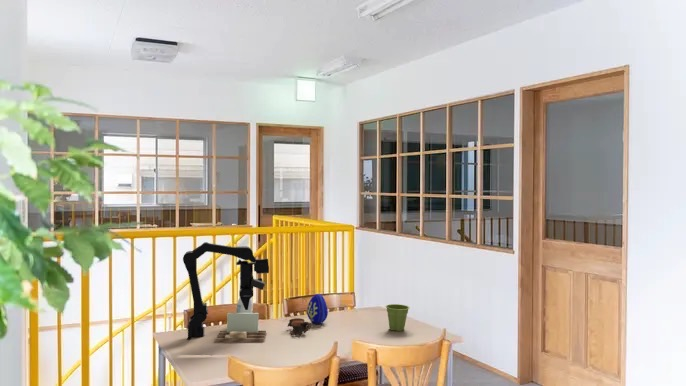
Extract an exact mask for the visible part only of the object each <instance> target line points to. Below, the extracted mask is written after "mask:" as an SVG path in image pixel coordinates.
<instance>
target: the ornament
mask: <svg viewBox="0 0 686 386" xmlns="http://www.w3.org/2000/svg"><path fill="white" fill-rule="evenodd" d="M328 311H329V309H328V306H327V302H326V300H325V298H324V296H323V295H322V294H320V293H317V294H316V293H315V294H314V295H313V296H312V297H311V298H310V300H309V302H308V304H307V309H306V315H307V318H308V319H309V321H310V322H311V323H312V324H316V325H319V324H323V323H325V321H326V320H327V318H328V314H329V312H328Z"/></svg>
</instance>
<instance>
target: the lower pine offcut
mask: <svg viewBox="0 0 686 386" xmlns="http://www.w3.org/2000/svg"><path fill="white" fill-rule="evenodd" d="M246 337H247V335H246ZM246 337H230V335H226V336H225V338H246Z"/></svg>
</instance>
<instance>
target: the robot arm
mask: <svg viewBox="0 0 686 386" xmlns="http://www.w3.org/2000/svg"><path fill="white" fill-rule="evenodd" d="M251 248H252V247H249V246H229V245H224V244H223V245H222V244H217V243H210V242H207V241H206V242H205V241H204V242H203V243H202V244H201V245H199V246H198V247H196V248H194V249H193V250H188V251H186V252H185V253H184V255H183V257H182V261H183V264H184V267H185V270H186V271H187V273H188V274H187V275H188V280H189V284H190V288H191V289H190V290H191V295H192V300H193V314H192V315H191V316H190V317H189V320H188V324H187V338H186V340H189V341H191V340H192V339H193V338H194V339H197V338H203V337H204V336H205V326H204V323H203V322H205V321H206V319H207V318H208V315H209V309H208V307H207V305H208V304H207V302H205V303H204V302H203V298H202V293H201V288H200V287H201V286H200V283H199V277H198V271H197V264H198V263H197V262H198V260H197V259H199V258H200V257H202V256H203V255H204V254H206V253H213V254H222V255H228V256H233V257H236V258H238V261H236V262H235V265H236V266H239V269H240V270H239V282H240V283H239V291H238V292H239V293H238V294H239V295H238V296H239V298H241V301H242V303H243V306H244V308H245V310H248V306H249V301H250V298H251V297H252V298H253V297H254V288H255V289H256V288H257V289H259V290H261V291H263V290H264V287H265V285H266V282H265V281H264V280H263V278H262V277H258V278H257V279H256V278H254V273H253V272H255V273H256V274H257V275H258V274H259V275H261V274H270V273H269V272H270V265H269V259H268V258H259V259H258V258H256V257H255V255H254V253H253V250H252V249H251Z"/></svg>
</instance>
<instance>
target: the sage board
mask: <svg viewBox="0 0 686 386" xmlns="http://www.w3.org/2000/svg"><path fill="white" fill-rule="evenodd" d="M226 315H227V316H226V331H227V332H231V331H247V332H258V331H259V312H252V313H236V312H227V314H226Z"/></svg>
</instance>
